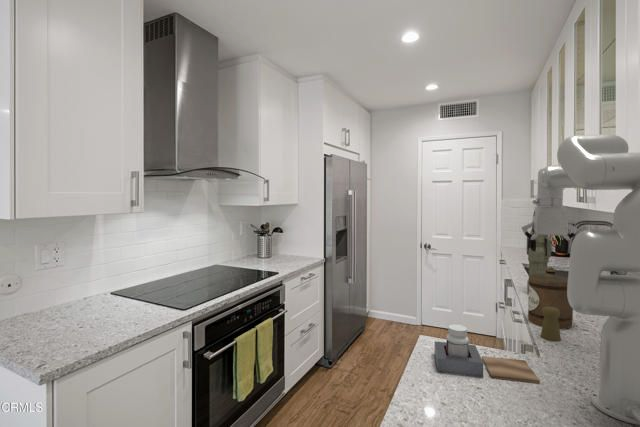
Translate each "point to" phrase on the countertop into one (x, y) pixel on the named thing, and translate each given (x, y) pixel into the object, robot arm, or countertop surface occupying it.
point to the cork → (551, 324)
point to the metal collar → (458, 361)
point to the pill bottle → (457, 341)
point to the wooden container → (549, 298)
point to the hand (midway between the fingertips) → (548, 251)
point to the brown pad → (509, 369)
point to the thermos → (539, 255)
